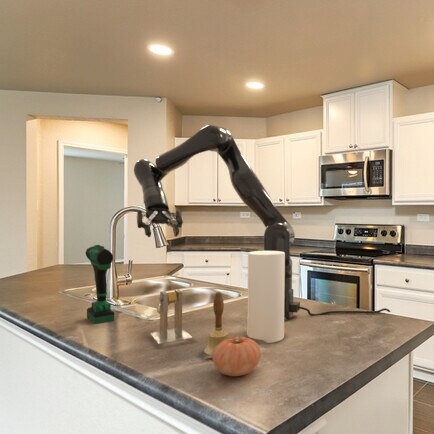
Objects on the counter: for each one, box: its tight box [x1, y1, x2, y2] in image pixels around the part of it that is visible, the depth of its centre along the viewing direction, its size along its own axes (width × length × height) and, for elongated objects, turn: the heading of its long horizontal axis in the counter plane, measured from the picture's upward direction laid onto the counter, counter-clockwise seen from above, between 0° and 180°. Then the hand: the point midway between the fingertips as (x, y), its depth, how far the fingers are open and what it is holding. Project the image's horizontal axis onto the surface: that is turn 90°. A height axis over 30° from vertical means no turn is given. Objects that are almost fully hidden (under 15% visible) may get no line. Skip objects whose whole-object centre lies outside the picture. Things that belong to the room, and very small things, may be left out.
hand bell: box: [203, 291, 229, 361], centre depth 99 cm, size 8×8×16 cm
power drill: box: [85, 244, 115, 325], centre depth 132 cm, size 6×29×25 cm, turn 41°
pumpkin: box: [212, 336, 262, 377], centre depth 87 cm, size 11×11×8 cm
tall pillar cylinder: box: [246, 250, 285, 344], centre depth 112 cm, size 11×11×25 cm
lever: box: [156, 291, 177, 315], centre depth 113 cm, size 14×3×3 cm, turn 37°
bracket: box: [149, 288, 193, 345], centre depth 109 cm, size 11×9×14 cm
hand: (163, 235), depth 128 cm, fingers open, 8 cm apart
